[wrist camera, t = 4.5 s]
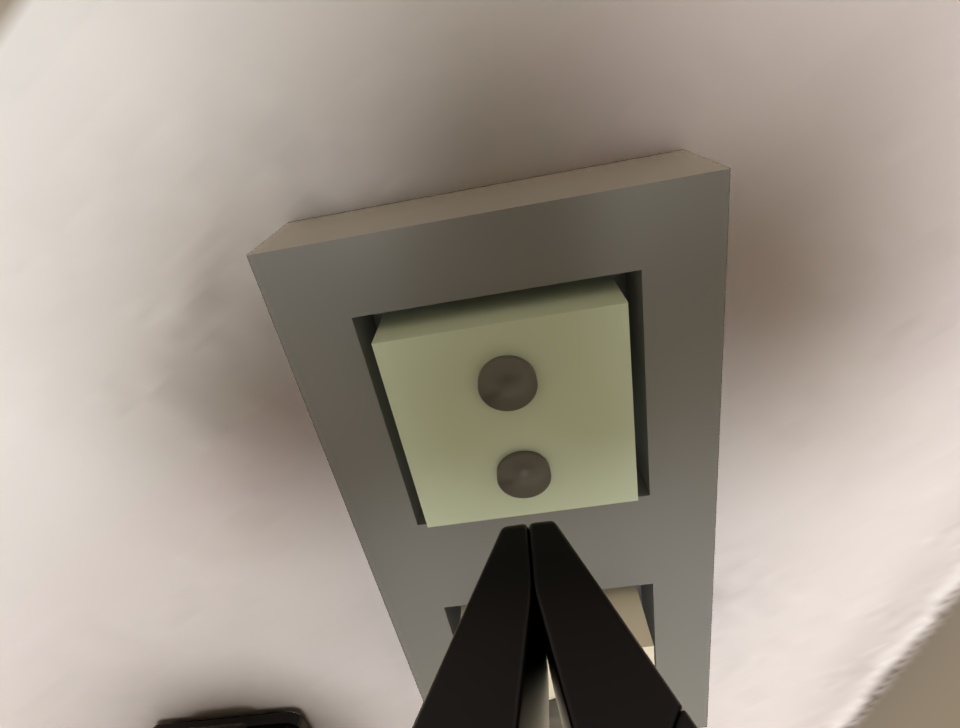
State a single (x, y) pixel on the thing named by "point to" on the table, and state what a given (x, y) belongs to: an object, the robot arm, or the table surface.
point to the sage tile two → (514, 400)
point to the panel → (504, 268)
